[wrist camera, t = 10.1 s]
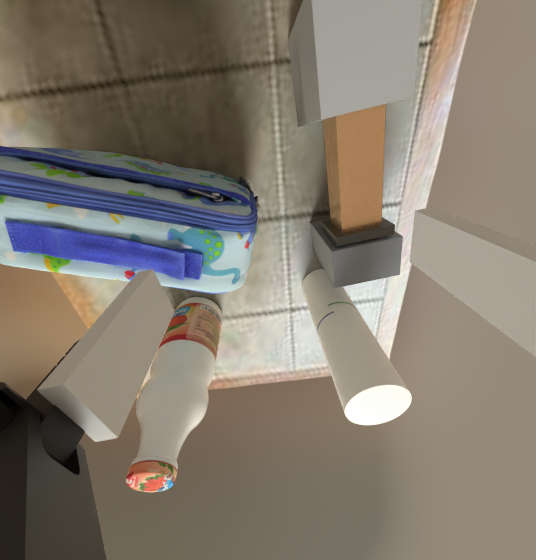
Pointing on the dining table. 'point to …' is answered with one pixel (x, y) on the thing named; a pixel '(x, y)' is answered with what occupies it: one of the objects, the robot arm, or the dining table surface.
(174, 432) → the fruit juice
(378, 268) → the socket
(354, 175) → the square peg
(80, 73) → the dining table surface
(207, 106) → the dining table surface
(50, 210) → the lunch box
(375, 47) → the sleeve
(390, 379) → the cylindrical container
